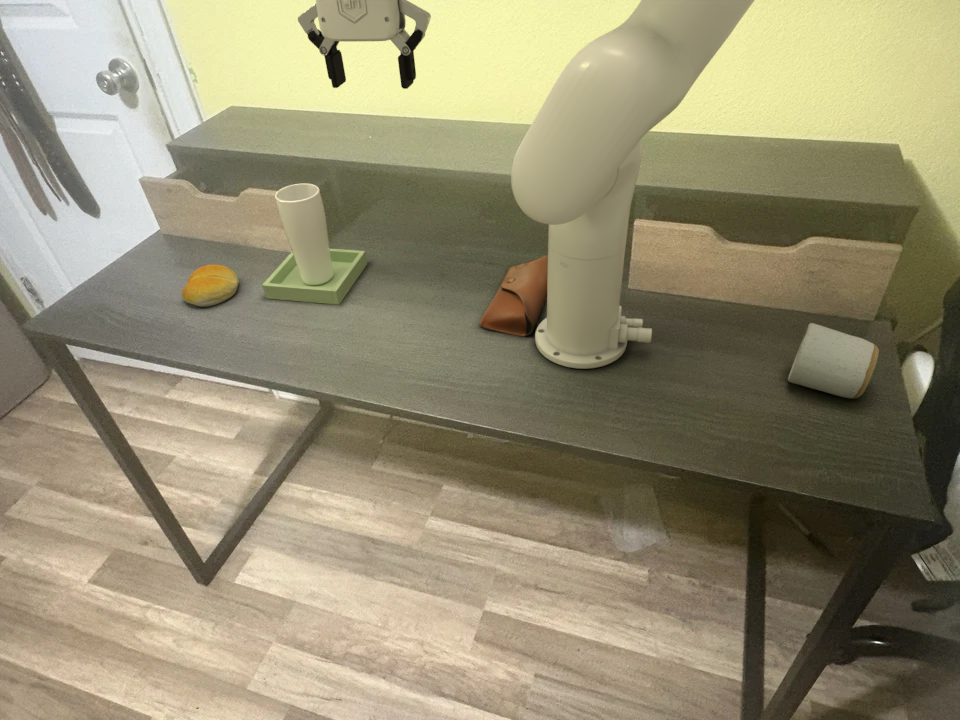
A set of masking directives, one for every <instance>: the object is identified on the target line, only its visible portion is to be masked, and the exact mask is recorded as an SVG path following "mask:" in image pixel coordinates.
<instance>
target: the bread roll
mask: <svg viewBox="0 0 960 720" xmlns="http://www.w3.org/2000/svg"><path fill="white" fill-rule="evenodd" d="M239 283H240V281H239V277H238V276H237V273H236V272H235V271H233V270H232V269H231V268H229V267H227V266H226V265H222V264H215V263H213V264H206V265H203V266H201V267H198V268H197V269H195V270H194V271H193V272H192V273H191V274H190V275H189V276H188V279H187V283H186V284H185V285H184V286H183V288H182V292H181V295H182V296H181V297H182V299H183V300H184V301H185V302H186V303H188V304H191V305H193V306H197V307H211V306H212V307H213V306H215V305H217V304H221V303H222V302H225V301H226V300H229V299H230V298H231V297H233V296H234V295H235V294H236V292H237V290H238V286H239Z"/></svg>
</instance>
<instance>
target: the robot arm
mask: <svg viewBox="0 0 960 720" xmlns="http://www.w3.org/2000/svg"><path fill="white" fill-rule="evenodd" d="M754 2H755V0H640V1H639V3H638V4H637V6H636V8H635V9H634V10H633V12H632V13H631V14H630V15H629V16H628V18H627V19H626V20H625V21H624V22H623V23H621V24H620V25H618V26H617V27H616V28H613V29H612V30H610V31H608V32H606V33H604V34H602V35H600V36H599V37H596V38H594V39H593V40H591V41H590V42H588V43H587V44H586V45H585V46H583V47H582V48H581V49H580V50H579V51H578V52H577V53H576V54H575V55H574V56H573V57H572V58H571V59H570V60H569V62H568V63H567V64H566V66H565V67H564V68H563V70H562V71H561V73H560V74H559V76H558V78H557V79H556V81H555V83H554V85H553V86H552V87H551V90H550V91H549V93H548V95H547V97H545V100H544V101H543V103H542V105H541V107H540V108H539V110H538V112H537V114H536V115H535V118H534V119H533V121H532V122H531V124H530V126H529V128H528V130H527V131H526V133H525V135H524V137H523V138H522V140H521V142H520V144H519V146H518V148H517V150H516V153H515V154H514V157H513V160H512V165H511V169H510V170H511V171H510V185H511V190H512V195H513V197H514V200H515V203H517V206H518V207H519V209H520V210H521V211H522V212H523V214H524V215H526V216H527V217H528V218H530V219H531V220H533V221H535V222H537V223H540V224H544V225H548V233H547V234H548V235H547V237H548V238H547V254H548V281H547V298H546V317H545V318H544V319H542V321H540V323H539V324H538V325H537V327H536V329H535V333H534V343H535V345H536V349H537V350H538V351H539V353H540V354H541V355H542V356H543V357H544V358H546V359H547V360H549V361H550V362H552V363H554V364H557V365H559V366H563V367H566V368H572V369H584V370H586V369H587V370H588V369H596V368H600V367H604V366H607V365H609V364H611V363H613V362H615V361H617V360H618V359H619V358H620V357H622V356H623V354H624V353H625V352H626V349H627V346H628V341H629V342H637V343H645V344H651V342H652V335H653V328H650V327H643V324H644V319H643V318H635V317H634V318H627V317H626V316H625V315H622V305H620V304H621V303H620V302H621V294H622V284H623V276H624V275H623V274H624V265H625V254H626V246H627V239H628V238H627V237H628V228H629V220H630V213H631V207H632V202H633V198H634V193H635V188H636V185H637V181H638V178H639V177H638V176H639V172H640V168H641V162H642V153H643V145H642V144H643V142H642V139H643V137H644V136H646V134H647V133H649V131H651V130H652V129H653V128H655V126H657V125H658V124H660V123H661V122H662V121H663V120H664V119H665V118H666V117H668V116H669V115H671V114H672V113H673V112H674V111H675V110H676V109H677V108H678V107H679V105H680V104H681V103H682V101H683V100H684V99H685V98H686V96H687V95H688V94H689V91H690V89H692V87H693V85H694V84H695V82H696V81H697V80H698V78H699V77H700V75H701V74H702V72H704V70H705V69H706V67H707V66H708V64H709V63H710V62H711V60H713V58H714V57H715V56H716V54H717V52H718V51H719V50H720V48H721V47H722V46H723V45H724V43H725V42H726V41H727V40H728V38H729V37H730V36H731V34H732V33H733V32H734V30H735V28H736V27H737V25H738V24H739V23H740V21H741V20H742V18H743V17H744V15H746V13H747V12H748V10H749V9H750V7H751V6H752V5H753V3H754ZM406 16H407V17H409V18H410V19H412V20H414V22H415V27H414V30H413V32H412V33H411V35H410V34H409V33H408V32H407V30H406V29H405V28H406ZM431 18H432V15H431V13H430V12H428V11H427V10H426V9H423V8H421V7H420V6H417V5H416V4H414V3H412V2H411V1H409V0H315V4H313V5H312V6H311V7H309V8H308V9H306V10H305V11H303V12H302V13H301V14H299V16H298V17H297V21H298V23H299V25H300V27H301V28H302V30H303V31H304V33H305V34H306V35H307V39H308V40H309V42H311V43H312V44H313V45H314V47H316V49H318V50H319V54H320V55H322V56H324V61H325V66H326V72H327V77H328V79H329V80H330V81H331V86H332V89H338V88H339V87H341V86H342V85H343V84H345V83H346V82H347V78H346V72H345V71H346V70H345V67H344V66H345V65H344V61H343V55H342V51H341V49H338V45H339V43H340V42H387V41H391V43H392V44H393V45H394V46H395V47H396V48H397V50H398V51H399V52H400V54H399V55H398V56H397V63H398V70H399V71H398V72H399V78H400V79H399V80H400V87H401V88H402V89H403V90H406V89H407V90H408V89H409V88H410V87H411V86H412V85H413V84H414V81H415V80H416V78H417V70H416V62H415V61H416V60H415V52H414V51H415V50H416V48H417V47H418V46H419V44H420V43H421V42H422V41H423V39H424V38H425V37H426V32H427V30H428V27H429V24H430V21H431ZM316 19H318V24H319V29H318V27H317V25H316V23H315V20H316Z"/></svg>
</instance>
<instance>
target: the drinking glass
mask: <svg viewBox="0 0 960 720" xmlns="http://www.w3.org/2000/svg"><path fill="white" fill-rule="evenodd" d="M274 200H275V204H276V209H277V212H278V216H279V219H280V222H281V225H282V229H283V231H284V234H285V237H286V239H287V242H288V244H289V248H290V250H291V252H292V253H293V255H294V258H295V261H296V264H297V266H298V269H299V273H300V277H301V279H302V281H303V282H304V283H306V284H309V285H320V284H324V283H326V282H328V281H329V280H331V278H332V277H333V275H334V271H333V266H332V261H331V254H330V249H331V248H330V239H329V233H328V232H329V231H328V224H327V217H326V209H325V206H324V205H325V204H324V202H323V198H322V194H321V191H320V188H319V186H317V185H315V184H313V183H308V182H307V183H306V182H305V183H303V182H302V183H295V184H289V185H287V186H283V187H282V188H280V189H278V190H277V191H276V193H274Z"/></svg>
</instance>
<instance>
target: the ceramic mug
mask: <svg viewBox="0 0 960 720" xmlns="http://www.w3.org/2000/svg"><path fill="white" fill-rule="evenodd" d="M879 353H880V351H879V348H878V346H877V345H876V344H875V343H873V342H871V341H869V340H866V339H864V338H862V337H859V336H855V335H851V334H847V333H845V332H842V331H839V330H835V329H832V328H830V327H826V326H824V325H821V324H817V323H813V322H810V323H809V324H808V325H807V327H806V330H805V333H804V335H803V337H802V340H801V342H800V345H799V348H798V350H797V353H796V356H795V358H794V361H793V363H792V366H791V369H790V372H789V375H788V378H787V381H788V383H791V384H795V385H799V386H802V387H805V388H809V389H812V390H815V391H816V390H817V391H819V392H824V393H827V394H830V395H833V396H837V397H841V398H846V399H858V398H860V397H862V395H863V394H864V393H865V391H866V389H867V388H868V385H869V383H870V381H871V379H872V376H873V373H874V370H875V368H876V365H877V362H878V358H879Z"/></svg>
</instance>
